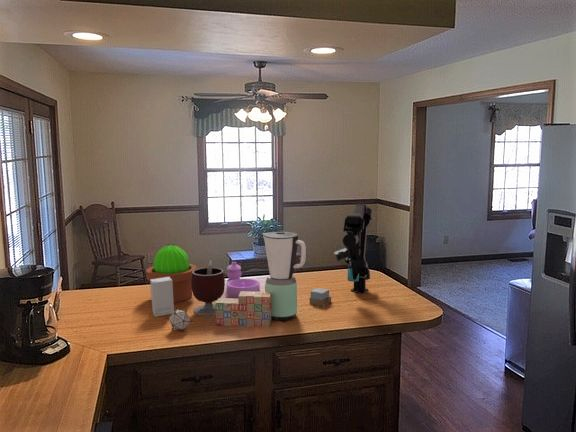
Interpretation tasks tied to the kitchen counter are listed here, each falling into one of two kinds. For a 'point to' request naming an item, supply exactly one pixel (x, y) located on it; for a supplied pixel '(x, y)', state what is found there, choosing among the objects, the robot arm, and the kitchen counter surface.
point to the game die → (179, 319)
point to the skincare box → (162, 296)
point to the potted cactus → (173, 270)
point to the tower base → (320, 301)
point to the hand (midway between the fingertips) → (353, 277)
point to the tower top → (319, 293)
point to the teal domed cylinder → (351, 276)
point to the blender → (283, 272)
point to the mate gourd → (207, 288)
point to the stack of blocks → (245, 310)
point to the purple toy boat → (239, 282)
